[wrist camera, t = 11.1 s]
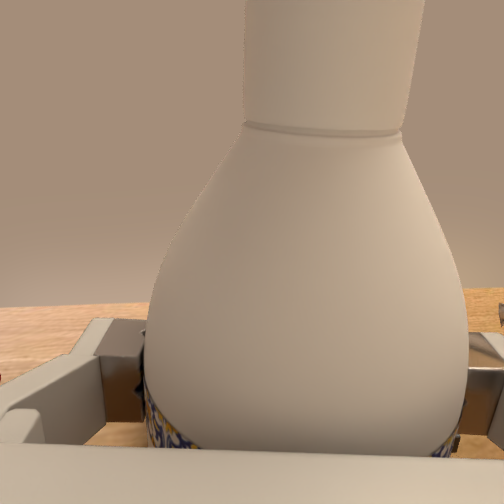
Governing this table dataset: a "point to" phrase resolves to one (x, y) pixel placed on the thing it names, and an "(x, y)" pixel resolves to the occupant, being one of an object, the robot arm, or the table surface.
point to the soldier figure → (501, 313)
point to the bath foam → (312, 258)
